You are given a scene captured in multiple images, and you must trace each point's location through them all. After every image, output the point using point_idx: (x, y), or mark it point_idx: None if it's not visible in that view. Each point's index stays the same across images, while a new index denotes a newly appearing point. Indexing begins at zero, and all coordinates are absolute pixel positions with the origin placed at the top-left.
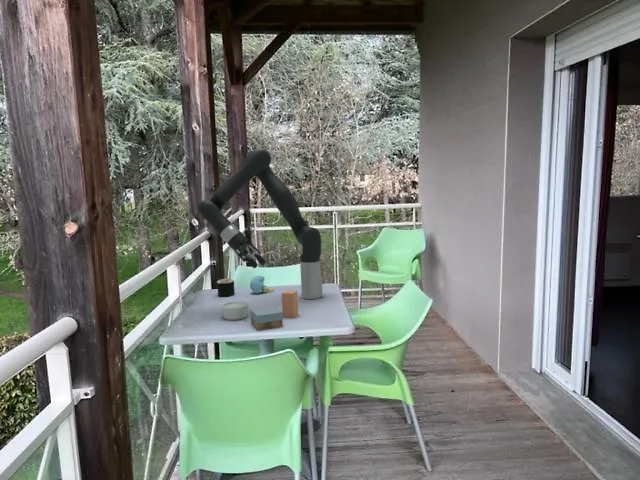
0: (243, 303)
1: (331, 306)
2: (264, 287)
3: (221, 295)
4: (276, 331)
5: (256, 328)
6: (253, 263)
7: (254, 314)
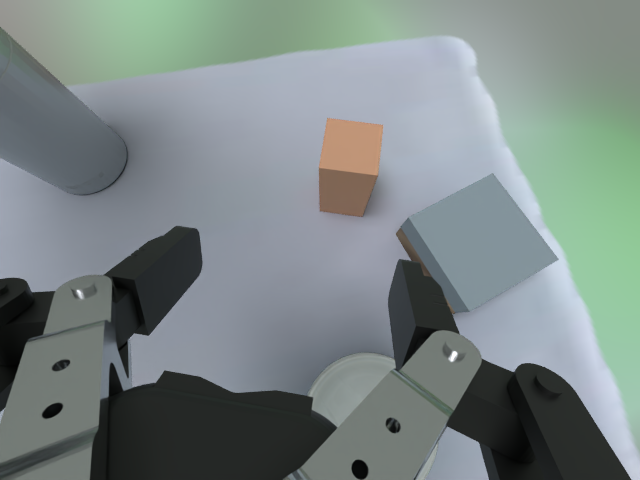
0: (341, 385)
1: (235, 87)
2: None
3: None
4: (521, 206)
5: None
6: (442, 298)
7: (521, 280)
